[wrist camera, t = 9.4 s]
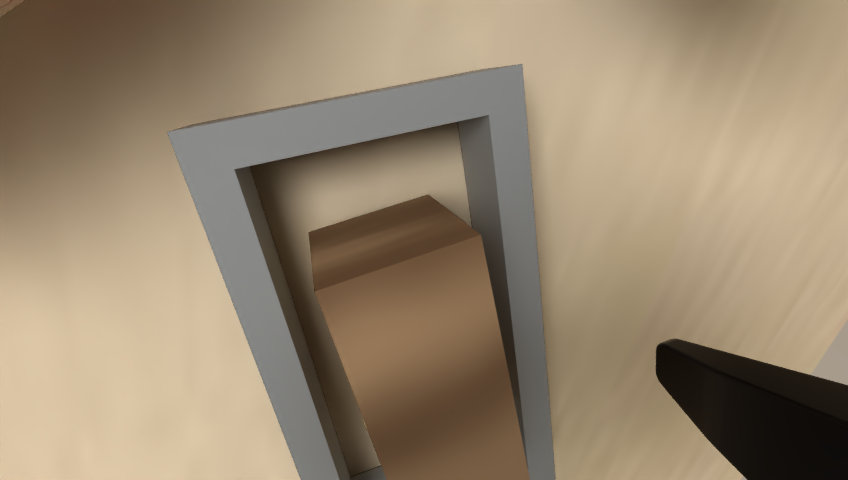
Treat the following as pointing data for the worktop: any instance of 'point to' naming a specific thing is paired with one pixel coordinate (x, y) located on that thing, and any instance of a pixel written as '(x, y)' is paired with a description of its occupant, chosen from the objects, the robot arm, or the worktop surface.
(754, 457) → the robot arm
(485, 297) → the board
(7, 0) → the stack of blocks
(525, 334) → the frame
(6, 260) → the worktop surface
